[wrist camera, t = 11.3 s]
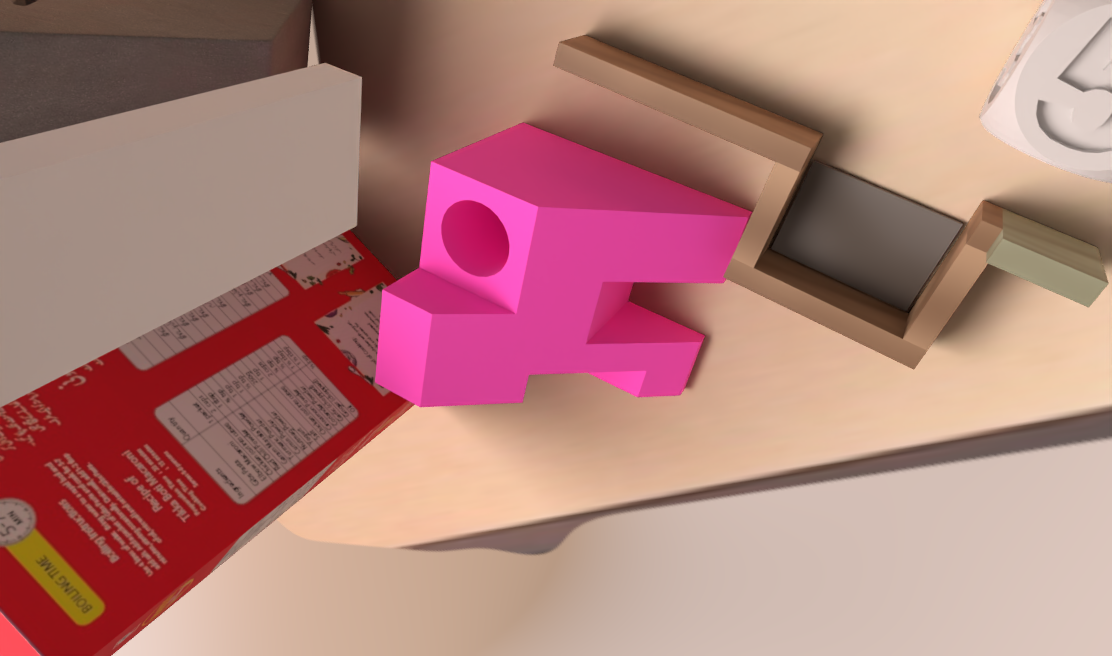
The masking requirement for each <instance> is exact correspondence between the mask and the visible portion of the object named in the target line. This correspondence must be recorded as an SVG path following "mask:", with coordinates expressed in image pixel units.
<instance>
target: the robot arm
mask: <svg viewBox="0 0 1112 656" xmlns="http://www.w3.org/2000/svg"><path fill="white" fill-rule="evenodd" d="M361 93H362V77H360V76H358V75H355V74H353V73H350V72H348V71H345V70H342V69H340V68H337V67H335V66H332V65H330V64H327V63H323V64H319V65H315V66H311V67H307V68H302V69H298V70H294V71H290V72H286V73H282V74H278V75H274V76H270V77H266V78H262V79H258V80H254V81H250V82H246V83H242V84H238V85H233V86H229V87H225V88H221V89H217V90H213V91H209V92H205V93H201V94H197V95H193V96H189V97H185V98H181V99H177V100H173V101H169V102H165V103H160V104H156V105H152V106H148V107H144V108H140V109H136V110H132V111H128V112H124V113H120V114H116V115H112V116H108V117H104V118H100V119H96V120H91V121H87V122H83V123H79V124H75V125H71V126H67V127H63V128H59V129H55V130H51V131H47V132H43V133H39V134H35V135H31V136H27V137H23V138H18V139H14V140H10V141H6V142H2V143H0V407H2V406H4V405H6V404H8V403H10V402H12V401H14V400H16V399H18V398H20V397H22V396H24V395H26V394H28V393H30V392H32V391H34V390H35V389H37V388H39V387H41V386H43V385H45V384H47V383H49V382H51V381H53V380H55V379H57V378H59V377H61V376H63V375H65V374H67V373H69V372H71V371H73V370H75V369H77V368H79V367H81V366H83V365H85V364H87V363H89V362H90V361H92V360H94V359H96V358H98V357H100V356H102V355H104V354H106V353H108V352H110V351H112V350H114V349H116V348H118V347H120V346H122V345H124V344H126V343H128V342H130V341H132V340H134V339H136V338H138V337H140V336H142V335H144V334H145V333H147V332H149V331H151V330H153V329H155V328H157V327H159V326H161V325H163V324H165V323H167V322H169V321H171V320H173V319H175V318H177V317H179V316H181V315H183V314H185V313H187V312H189V311H191V310H193V309H195V308H197V307H198V306H200V305H202V304H204V303H206V302H208V301H210V300H212V299H214V298H216V297H218V296H220V295H222V294H224V293H226V292H228V291H230V290H232V289H234V288H236V287H238V286H240V285H242V284H244V283H246V282H248V281H250V280H252V279H253V278H255V277H257V276H259V275H261V274H263V273H265V272H267V271H269V270H271V269H273V268H275V267H277V266H279V265H281V264H283V263H285V262H287V261H289V260H291V259H293V258H295V257H297V256H299V255H301V254H303V253H305V252H306V251H308V250H310V249H312V248H314V247H316V246H318V245H320V244H322V243H324V242H326V241H328V240H330V239H332V238H334V237H336V236H338V235H340V234H342V233H344V232H346V231H348V230H350V229H352V228H354V227H356V226H357V209H358V180H359V151H360V122H361Z"/></svg>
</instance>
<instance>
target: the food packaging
mask: <svg viewBox="0 0 1112 656" xmlns="http://www.w3.org/2000/svg"><path fill="white" fill-rule="evenodd" d="M396 281H397V280H396V279H395V278H394V277H393V275H392V274H391V273H390V272H389V271H388V270H387V269H386V268H385V267H384V266H383V265H382V264H381V263H380V262H379V260H378V259H377V258H376V257H375V256H374V255H373V254H372V253H371V252H370V251H369V250H368V249H367V248H366V247H365V245H364V244H363V243H362V242H361V241H360V240H359V239H358V238H357V237H356V236H355V235H354V234H353V233H352V232H351V230H348V231H346V232H344V233H342V234H340V235H338V236H336V237H334V238H332V239H330V240H328V241H326V242H324V243H322V244H320V245H318V246H316V247H314V248H312V249H310V250H308V251H306V252H305V253H303V254H301V255H299V256H297V257H295V258H293V259H291V260H289V261H287V262H285V263H283V264H281V265H279V266H277V267H275V268H273V269H271V270H269V271H267V272H265V273H263V274H261V275H259V276H257V277H255V278H253V279H252V280H250V281H248V282H246V283H244V284H242V285H240V286H238V287H236V288H234V289H232V290H230V291H228V292H226V293H224V294H222V295H220V296H218V297H216V298H214V299H212V300H210V301H208V302H206V303H204V304H202V305H200V306H198V307H197V308H195V309H193V310H191V311H189V312H187V313H185V314H183V315H181V316H179V317H177V318H175V319H173V320H171V321H169V322H167V323H165V324H163V325H161V326H159V327H157V328H155V329H153V330H151V331H149V332H147V333H145V334H144V335H142V336H140V337H138V338H136V339H134V340H132V341H130V342H128V343H126V344H124V345H122V346H120V347H118V348H116V349H114V350H112V351H110V352H108V353H106V354H104V355H102V356H100V357H98V358H96V359H94V360H92V361H90V362H89V363H87V364H85V365H83V366H81V367H79V368H77V369H75V370H73V371H71V372H69V373H67V374H65V375H63V376H61V377H59V378H57V379H55V380H53V381H51V382H49V383H47V384H45V385H43V386H41V387H39V388H37V389H35V390H34V391H32V392H30V393H28V394H26V395H24V396H22V397H20V398H18V399H16V400H14V401H12V402H10V403H8V404H6V405H4V406H2V407H0V656H111V655H113V654H114V653H115V652H116V651H117V650H119V649H120V648H121V647H122V646H123V645H125V644H126V643H127V642H128V641H129V640H131V639H132V638H133V637H134V636H135V635H137V634H138V633H139V632H140V631H142V629H144V628H145V627H146V626H148V625H149V624H150V623H151V622H152V621H154V620H155V619H156V618H157V617H158V616H160V615H161V614H162V613H163V612H164V611H166V610H167V609H168V608H169V607H170V606H172V605H173V604H174V603H175V602H176V601H178V600H179V599H180V598H181V597H183V596H184V595H185V594H186V593H187V592H189V591H190V590H191V589H192V588H193V587H195V586H196V585H197V584H198V583H200V582H201V581H202V580H203V579H204V578H206V577H207V576H208V575H209V574H210V573H212V572H213V571H214V570H215V569H217V568H218V567H219V566H220V565H221V564H223V563H224V562H225V561H226V560H227V559H229V558H230V557H231V556H232V555H233V554H235V553H236V552H237V551H238V550H239V549H241V548H242V547H243V546H244V545H246V544H247V543H248V542H249V541H250V540H251V539H253V538H254V537H255V536H256V535H257V534H259V533H260V532H261V531H262V530H264V529H265V528H266V527H267V526H268V525H270V524H271V523H272V522H273V521H275V520H276V519H277V518H278V517H279V516H281V515H282V514H283V513H284V512H285V511H287V510H288V509H289V508H290V507H291V506H293V505H294V504H295V503H296V502H298V501H299V500H300V499H301V498H302V497H304V496H305V495H306V494H307V493H308V492H310V491H311V490H312V489H313V488H314V487H316V486H317V485H318V484H319V483H320V482H322V481H323V480H324V479H325V478H327V477H328V476H329V475H330V474H331V473H333V472H334V471H335V470H336V469H337V468H339V467H340V466H341V465H342V464H343V463H345V462H346V461H347V460H348V459H349V458H351V457H352V456H353V455H354V454H356V453H357V452H358V451H359V450H360V449H362V448H363V447H364V446H365V445H366V444H368V443H369V442H370V441H371V440H372V439H374V438H375V437H376V436H377V435H379V434H380V433H381V432H382V431H383V430H385V429H386V428H387V427H388V426H389V425H391V424H392V423H393V422H394V421H395V420H397V419H398V418H399V417H400V416H401V415H403V414H404V413H405V412H406V411H408V410H409V409H410V408H411V407H412V406H414V405H415V404H413V403H412V402H410V401H408V400H406V399H404V398H402V397H401V396H399V395H397V394H395V393H393V392H391V391H390V390H388V389H386V388H384V387H382V386H380V385H379V384H377V383H375V376H376V364H377V351H378V339H379V327H380V314H381V302H382V290H383V289H384V288H386V287H388V286H389V285H391V284H393V283H394V282H396Z"/></svg>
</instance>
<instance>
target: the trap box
mask: <svg viewBox="0 0 1112 656" xmlns="http://www.w3.org/2000/svg"><path fill="white" fill-rule="evenodd" d="M553 66H555V67H558V68H560V69H562V70H565V71H567V72H569V73H572V74H574V75H576V76H579V77H581V78H583V79H586V80H588V81H590V82H592V83H595V84H597V85H599V86H602V87H604V88H606V89H609V90H611V91H613V92H616V93H618V94H620V95H623V96H625V97H627V98H629V99H632V100H634V101H636V102H639V103H641V104H643V105H646V106H648V107H650V108H653V109H655V110H657V111H660V112H662V113H664V114H666V115H669V116H671V117H673V118H676V119H678V120H680V121H683V122H685V123H687V124H690V125H692V126H694V127H697V128H699V129H701V130H703V131H706V132H708V133H710V134H713V135H715V136H717V137H720V138H722V139H724V140H727V141H729V142H731V143H734V144H736V145H738V146H740V147H743V148H745V149H747V150H750V151H752V152H754V153H757V154H759V155H761V156H764V157H766V158H768V159H771V160H773V161H775V162H776V163H775V165H774V167H773V169H772V171H771V173H770V176H769V178H768V180H767V182H766V184H765V187H764V189H763V191H762V193H761V195H760V197H759V200H758V202H757V204H756V206H755V208H754V211H753V213H752V215H751V217H750V219H749V222H748V224H747V226H746V228H745V230H744V232H743V235H742V237H741V239H740V241H739V243H738V246H737V248H736V250H735V252H734V254H733V256H732V259H731V261H730V263H729V265H728V267H727V270H726V272H725V274H724V276H723V277H724V278H726V279H728V280H730V281H732V282H734V283H737V284H739V285H741V286H743V287H745V288H747V289H749V290H751V291H753V292H755V293H757V294H759V295H761V296H763V297H765V298H767V299H770V300H772V301H774V302H776V303H778V304H780V305H782V306H784V307H786V308H788V309H790V310H792V311H794V312H796V313H798V314H800V315H803V316H805V317H807V318H809V319H811V320H813V321H815V322H817V323H819V324H821V325H823V326H825V327H827V328H829V329H831V330H833V331H836V332H838V333H840V334H842V335H844V336H846V337H848V338H850V339H852V340H854V341H856V342H858V343H860V344H862V345H864V346H866V347H869V348H871V349H873V350H875V351H877V352H879V353H881V354H883V355H885V356H887V357H889V358H891V359H893V360H895V361H897V362H899V363H902V364H904V365H906V366H908V367H910V368H912V369H915V367H916V366H917V365H918V363H919V362H920V360H921V359H922V357H923V356H924V355H925V353H926V352H927V350H928V349H929V347H930V346H931V345H932V343H933V342H934V340H935V339H936V337H937V336H938V335H939V333H940V332H941V330H942V329H943V327H944V326H945V324H946V323H947V322H948V320H949V319H950V317H951V316H952V314H953V313H954V312H955V310H956V309H957V307H958V306H959V304H960V303H961V302H962V300H963V299H964V297H965V296H966V294H967V293H968V292H969V290H970V289H971V287H972V286H973V284H974V283H975V281H976V280H977V279H978V277H979V276H980V274H981V273H982V271H983V270H984V269H985V267H986V266H987V264H990V265H993V266H995V267H997V268H999V269H1002V270H1004V271H1006V272H1009V273H1011V274H1013V275H1015V276H1018V277H1020V278H1022V279H1025V280H1027V281H1029V282H1032V283H1034V284H1036V285H1038V286H1041V287H1043V288H1045V289H1048V290H1050V291H1052V292H1054V293H1057V294H1059V295H1061V296H1064V297H1066V298H1068V299H1071V300H1073V301H1075V302H1077V303H1080V304H1082V305H1084V306H1087V307H1090V305H1091V304H1092V303H1093V302H1094V301H1095V299H1096V298H1097V297H1098V296H1099V295H1100V293H1101V292H1102V291H1103V290H1104V288H1105V287H1106V286H1107V285H1108V284H1109V283H1108V280H1107V277H1106V273H1105V270H1104V266H1103V263H1102V260H1101V256H1100V253H1099V250H1098V247H1095V246H1093V245H1090V244H1088V243H1086V242H1083V241H1081V240H1078V239H1076V238H1073V237H1071V236H1069V235H1066V234H1064V233H1061V232H1059V231H1057V230H1054V229H1052V228H1049V227H1047V226H1045V225H1042V224H1040V223H1037V222H1035V221H1032V220H1030V219H1028V218H1025V217H1023V216H1020V215H1018V214H1016V213H1013V212H1011V211H1008V210H1006V209H1004V208H1001V207H999V206H996V205H994V204H991V203H989V202H987V201H984V200H983V201H982V202H981V204H980V205H979V207H978V208H977V210H976V211H975V213H974V214H973V216H972V218H971V219H970V221H969V222H968V224H967V225H966V227H965V228H964V230H963V231H962V233H961V234H960V236H959V237H958V239H957V240H956V242H955V244H954V245H953V247H952V248H951V250H950V251H949V253H948V254H947V256H946V257H945V259H944V260H943V262H942V263H941V265H940V266H939V268H938V269H937V271H936V273H935V274H934V276H933V277H932V279H931V280H930V282H929V283H928V285H927V286H926V288H925V289H924V291H923V292H922V294H921V295H920V297H919V298H918V300H917V302H916V303H915V305H914V306H913V308H912V309H911V311H910V312H909V313H907V312H906V311H907V310H908V308H909V307H910V305H911V304H912V302H913V300H914V299H915V297H916V296H917V294H918V293H919V291H920V290H921V288H922V287H923V285H924V284H925V282H926V280H927V279H928V277H929V276H930V274H931V273H932V271H933V270H934V268H935V267H936V265H937V264H938V262H939V261H940V259H941V257H942V256H943V254H944V253H945V251H946V250H947V248H948V247H949V245H950V244H951V242H952V241H953V239H954V237H955V236H956V234H957V233H958V231H959V230H960V228H961V227H962V225H963V223H962V222H960V221H957V220H955V219H952V218H950V217H948V216H945V215H943V214H941V213H938V212H936V211H934V210H931V209H929V208H927V207H924V206H922V205H920V204H917V203H915V202H912V201H910V200H908V199H905V198H903V197H901V196H898V195H896V194H894V193H891V192H889V191H887V190H884V189H882V188H880V187H877V186H875V185H873V184H870V183H868V182H865V181H863V180H861V179H858V178H856V177H854V176H851V175H849V174H847V173H844V172H842V171H840V170H837V169H835V168H833V167H830V166H828V165H826V164H823V163H821V162H818V161H816V160H814V162H813V164H812V166H811V168H810V170H809V172H808V174H807V176H806V178H805V180H804V182H803V184H802V186H801V188H800V190H799V192H798V194H797V196H796V198H795V200H794V202H793V205H792V207H791V209H790V211H789V213H788V215H787V217H786V219H785V221H784V223H783V225H782V227H781V229H780V231H779V233H778V235H777V237H776V239H775V241H774V243H773V245H772V247H771V249H772V250H771V249H769V248H768V246H769V244H770V242H771V240H772V238H773V236H774V234H775V232H776V230H777V228H778V226H779V224H780V222H781V220H782V218H783V216H784V214H785V211H786V209H787V207H788V205H789V203H790V201H791V199H792V197H793V195H794V193H795V191H796V189H797V187H798V185H799V183H800V181H801V179H802V177H803V174H804V172H805V170H806V168H807V166H808V164H809V162H810V160H811V158H812V156H813V154H814V152H815V150H816V148H817V146H818V144H819V142H820V140H821V138H822V135H823V133H820V132H818V131H815V130H813V129H811V128H808V127H806V126H803V125H801V124H799V123H796V122H794V121H791V120H789V119H786V118H784V117H782V116H779V115H777V114H774V113H772V112H770V111H767V110H765V109H762V108H760V107H758V106H755V105H753V104H750V103H748V102H745V101H743V100H741V99H738V98H736V97H733V96H731V95H729V94H726V93H724V92H721V91H719V90H717V89H714V88H712V87H709V86H707V85H704V84H702V83H700V82H697V81H695V80H692V79H690V78H688V77H685V76H683V75H680V74H678V73H676V72H673V71H671V70H668V69H666V68H663V67H661V66H659V65H656V64H654V63H651V62H649V61H647V60H644V59H642V58H639V57H637V56H634V55H632V54H630V53H627V52H625V51H622V50H620V49H618V48H615V47H613V46H610V45H608V44H606V43H603V42H601V41H598V40H596V39H593V38H591V37H589V36H586V35H583V36H579V37H576V38H572V39H568V40H565V41H561V42H559V44H558V48H557V52H556V56H555V60H554V64H553ZM778 252H779V253H778ZM780 253H781V254H780ZM782 254H783V255H782ZM784 255H785V256H784ZM786 256H787V257H786ZM793 259H794V260H793ZM795 260H796V261H795ZM797 261H798V262H797ZM799 262H800V263H799ZM808 266H809V267H808ZM810 267H811V268H810ZM812 268H813V269H812ZM814 269H815V270H814ZM823 273H824V274H823ZM825 274H826V275H825ZM827 275H828V276H827ZM829 276H830V277H829ZM838 280H839V281H838ZM840 281H841V282H840ZM842 282H843V283H842ZM844 283H845V284H844ZM851 286H852V287H851ZM853 287H854V288H853ZM855 288H856V289H855ZM857 289H858V290H857ZM859 290H860V291H859ZM866 293H867V294H866ZM868 294H869V295H868ZM870 295H871V296H870ZM872 296H873V297H872ZM881 300H882V301H881ZM883 301H884V302H883ZM885 302H886V303H885ZM887 303H888V304H887ZM896 307H897V308H896ZM898 308H899V309H898ZM900 309H901V310H900ZM902 310H903V311H902Z"/></svg>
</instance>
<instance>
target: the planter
mask: <svg viewBox="0 0 1112 656" xmlns="http://www.w3.org/2000/svg"><path fill="white" fill-rule="evenodd" d="M311 10H312V0H0V143H2V142H6V141H10V140H14V139H18V138H23V137H27V136H31V135H35V134H39V133H43V132H47V131H51V130H55V129H59V128H63V127H67V126H71V125H75V124H79V123H83V122H87V121H91V120H96V119H100V118H104V117H108V116H112V115H116V114H120V113H124V112H128V111H132V110H136V109H140V108H144V107H148V106H152V105H156V104H160V103H165V102H169V101H173V100H177V99H181V98H185V97H189V96H193V95H197V94H201V93H205V92H209V91H213V90H217V89H221V88H225V87H229V86H233V85H238V84H242V83H246V82H250V81H254V80H258V79H262V78H266V77H270V76H274V75H278V74H282V73H286V72H290V71H294V70H298V69H302V68H307V63H308V51H309V37H310V24H311Z"/></svg>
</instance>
